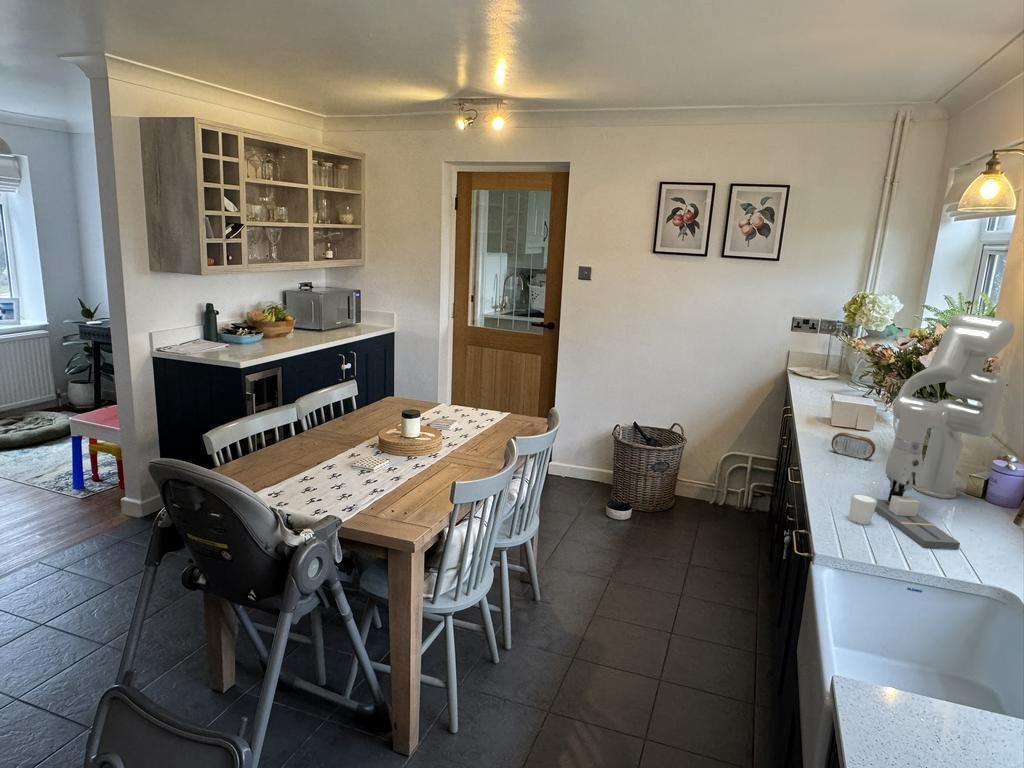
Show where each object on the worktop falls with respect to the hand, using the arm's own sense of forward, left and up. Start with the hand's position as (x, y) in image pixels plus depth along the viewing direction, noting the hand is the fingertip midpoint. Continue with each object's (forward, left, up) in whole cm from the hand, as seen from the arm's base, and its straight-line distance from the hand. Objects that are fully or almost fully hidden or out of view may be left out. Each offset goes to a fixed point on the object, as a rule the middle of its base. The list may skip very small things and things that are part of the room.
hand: (894, 502), depth 206 cm
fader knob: (0, +4, -2) cm, 4 cm away
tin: (-17, -53, -4) cm, 56 cm away
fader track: (0, +8, -4) cm, 9 cm away
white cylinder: (+14, +6, -4) cm, 16 cm away
